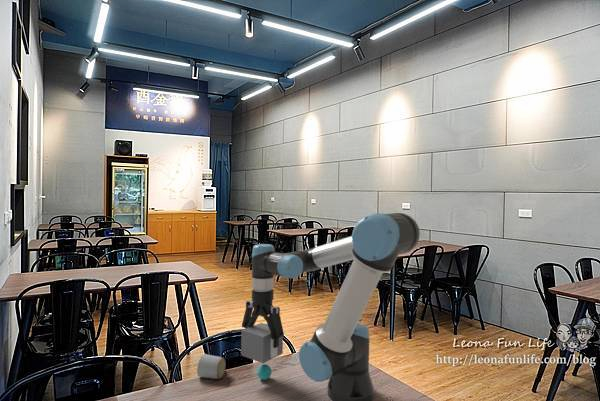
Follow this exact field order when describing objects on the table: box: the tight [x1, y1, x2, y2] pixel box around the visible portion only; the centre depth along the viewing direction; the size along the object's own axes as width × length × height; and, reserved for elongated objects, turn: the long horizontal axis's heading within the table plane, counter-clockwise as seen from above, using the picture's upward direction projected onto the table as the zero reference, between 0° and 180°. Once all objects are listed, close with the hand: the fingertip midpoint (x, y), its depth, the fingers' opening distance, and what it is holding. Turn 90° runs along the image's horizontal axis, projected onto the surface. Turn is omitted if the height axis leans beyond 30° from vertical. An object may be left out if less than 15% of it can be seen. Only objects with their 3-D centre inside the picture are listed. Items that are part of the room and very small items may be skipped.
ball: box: [256, 363, 273, 381], centre depth 140 cm, size 5×5×5 cm
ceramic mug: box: [196, 353, 226, 380], centre depth 143 cm, size 11×8×8 cm
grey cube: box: [240, 322, 284, 364], centre depth 139 cm, size 10×10×9 cm
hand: (261, 352), depth 139 cm, fingers closed on grey cube, 10 cm apart
